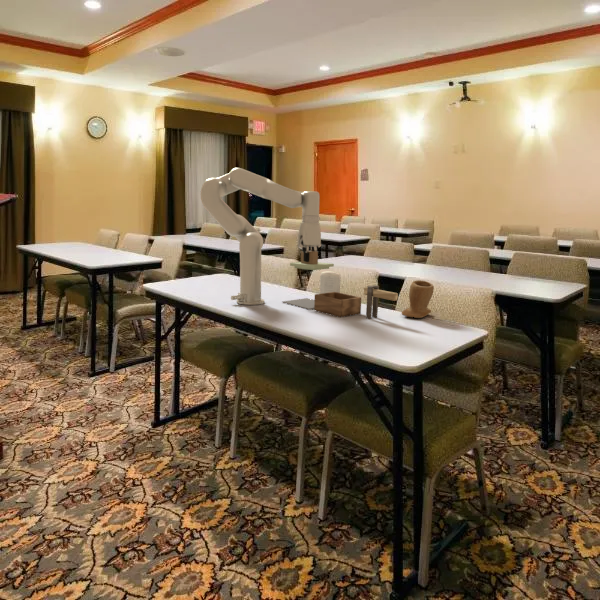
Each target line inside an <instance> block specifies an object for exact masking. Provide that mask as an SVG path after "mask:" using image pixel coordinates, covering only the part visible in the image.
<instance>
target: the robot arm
mask: <svg viewBox="0 0 600 600" xmlns="http://www.w3.org/2000/svg"><path fill="white" fill-rule="evenodd" d="M239 190H241V191H244V192H247V193H250V194H252V195H255V196H257V197H260V198H262V199H265V200H269V201H272V202H274V203H277V204H279V205H282V206H285V207H288V208H290V209H296V208H301V222H300V224H299V228H298V236H297V248H299V249H300V251H302V252H303V253H304V260H303V261H305V262H309V253H308V251H316V252H318V250H319V248H320V247H322V241H321V240H322V233H321V231H322V230H321V223H320V220H321V217H320V193H319V192H318V191H312V190H310V191H309V190H308V191H307V190H306V191H298V190H295V189H291V188H289V187H287V186H284V185H282V184H280V183H277V182H275V181H273V180H271V179H269V178H267V177H265V176H262V175H259V174H256V173H254V172H252V171H249V170H246V169H244V168H242V167H241V168H240V167H234V168H232V169H231V170H230V171H229V173H226V174H223V175H222V176H219V177H210V178H207V179H206V180H205V181H204V182H203V183H202V186H201V189H200V199H201V203H202V206H203V207H204V209H205V210H206V211H207V213H209V215H210V216H211V217H212V218H213V220H215V222H217V224H218V225H219V226H220V227H221V228H222V229H223V230H224V231H225V232H226V234H227V235H229V236H231V237H234V238H236V240H237V242H239V244H238V245H239V292H238V293H237V294H236V295H230V301H236V303H237V304H239V305H246V306H256V305H262V304H265V299H264V298H262V248H263V246H264V238H263V236H262V235H261V233H260V232H259V231H258V230H257V229H256V228H255V227H254V226H253V225H252V224H251V223H250V222H249V221H248V220H247V219H246V218H245V217H244V216H243V215H242V214H237V213H236V212H235V211H234V210H232V208H231V207H230V205H228V204H227V203H226V202H225V201H224V200H223V197H225V196H227V195H229V194H232V193H234V192H237V191H239ZM309 249H310V250H309Z"/></svg>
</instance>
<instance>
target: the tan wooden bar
mask: <svg viewBox="0 0 600 600" xmlns="http://www.w3.org/2000/svg"><path fill="white" fill-rule="evenodd" d="M367 288H368V286H367V287H363V295H364V296H367ZM398 295H399V293H397V292H393V291H387V290H384V289H383V290H382V289H380V288H379V289H373V296H372V298H373V297H378V299H384V300H390V301H393V302H395V301H398V297H399V296H398Z"/></svg>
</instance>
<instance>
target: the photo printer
mask: <svg viewBox="0 0 600 600" xmlns="http://www.w3.org/2000/svg"><path fill="white" fill-rule="evenodd" d="M329 292H338V293H341V274H340V273H339V272H336V271H332V270H331V271H330V270H329V271H328V270H327V271H322V272H320V277H319V293H318V294H322V293H329Z"/></svg>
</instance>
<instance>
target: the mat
mask: <svg viewBox="0 0 600 600" xmlns="http://www.w3.org/2000/svg"><path fill="white" fill-rule="evenodd" d="M310 299H311V300H310ZM282 302H283V304H285V303H287V304H286V305H289V304H291V305H290V306H293V305H295V306H294V307H297V306H298V307H297V308H300V307H302V308H301V309H304V308H306V309H305V310H308V309H312V310H314V302H315V299H312V298H307V297H306V298H297V299H291V300H285V301H282Z"/></svg>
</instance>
